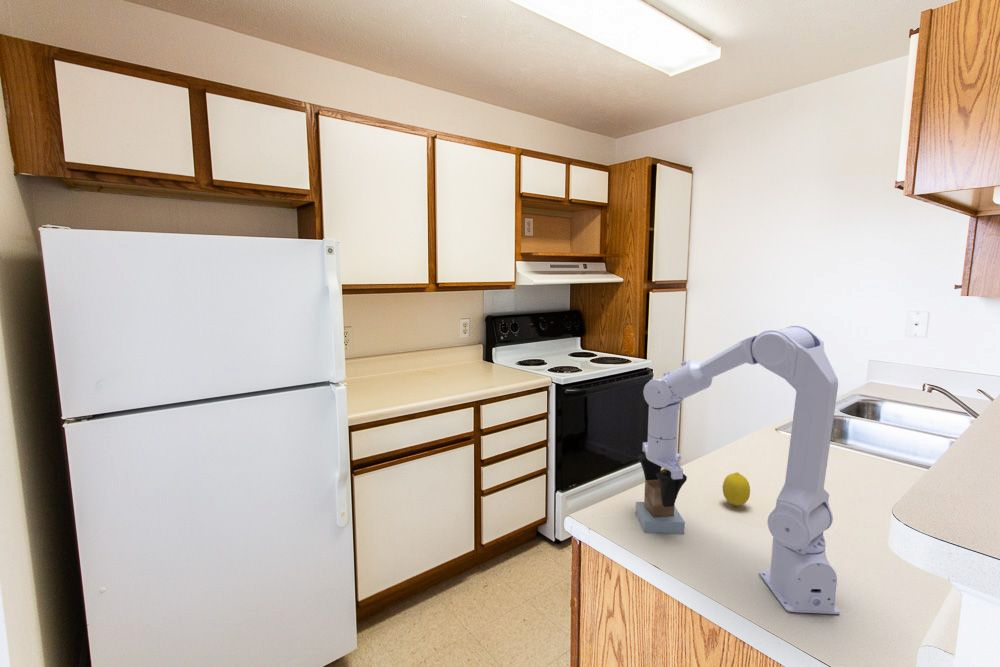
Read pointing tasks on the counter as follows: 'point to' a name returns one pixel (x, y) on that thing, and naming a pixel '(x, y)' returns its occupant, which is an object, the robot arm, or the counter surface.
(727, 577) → the counter surface
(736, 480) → the lemon
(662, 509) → the walnut block
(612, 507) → the counter surface
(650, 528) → the blue-gray block
